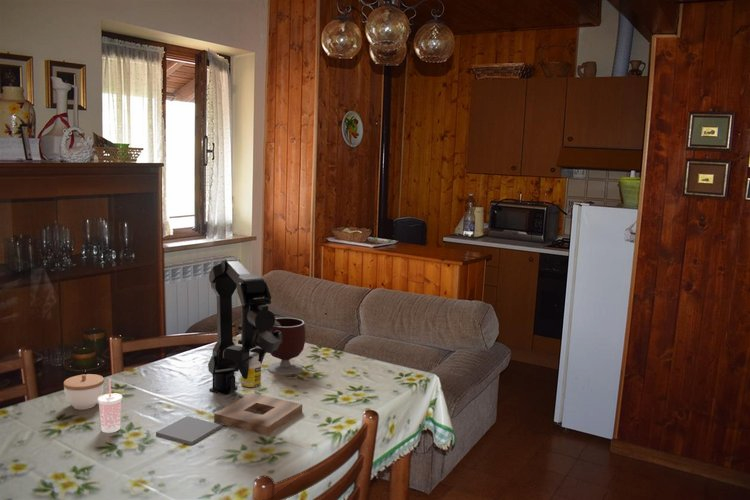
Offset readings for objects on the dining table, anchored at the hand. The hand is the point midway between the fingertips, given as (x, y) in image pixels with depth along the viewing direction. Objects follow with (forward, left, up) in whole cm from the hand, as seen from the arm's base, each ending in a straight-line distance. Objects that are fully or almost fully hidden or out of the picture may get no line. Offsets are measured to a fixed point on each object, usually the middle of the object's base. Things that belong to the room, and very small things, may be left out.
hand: (251, 375), depth 177 cm
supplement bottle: (0, 0, -4) cm, 4 cm away
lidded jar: (-48, -16, -13) cm, 52 cm away
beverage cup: (-29, -24, -13) cm, 39 cm away
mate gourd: (-15, +40, -13) cm, 45 cm away
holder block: (+1, +2, -13) cm, 13 cm away
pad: (-10, -15, -13) cm, 22 cm away
